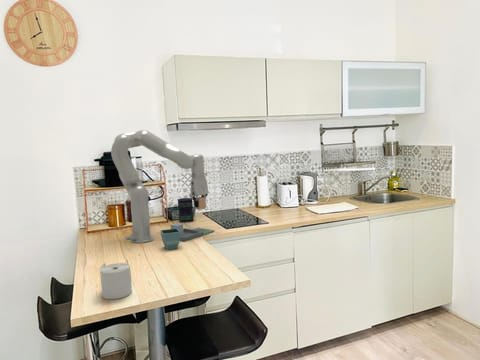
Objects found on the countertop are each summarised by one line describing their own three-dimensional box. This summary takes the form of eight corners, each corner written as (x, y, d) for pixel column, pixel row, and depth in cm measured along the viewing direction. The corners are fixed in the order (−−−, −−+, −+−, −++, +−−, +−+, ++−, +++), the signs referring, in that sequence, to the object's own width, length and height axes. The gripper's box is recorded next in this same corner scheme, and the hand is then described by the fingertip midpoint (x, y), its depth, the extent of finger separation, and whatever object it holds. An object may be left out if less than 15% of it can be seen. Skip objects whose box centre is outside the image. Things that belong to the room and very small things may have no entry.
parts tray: (184, 241, 210) (183, 237, 209) (165, 237, 220) (165, 233, 220) (203, 235, 220) (202, 231, 220) (184, 232, 231) (184, 228, 230)
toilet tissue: (124, 300, 138) (121, 273, 137) (93, 299, 140) (90, 272, 139) (137, 288, 148) (135, 263, 147) (108, 287, 150) (105, 262, 149)
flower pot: (178, 244, 205) (176, 227, 204) (181, 248, 197) (180, 231, 196) (161, 246, 202) (160, 230, 201) (164, 251, 194) (163, 234, 193)
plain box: (176, 237, 217) (176, 225, 217) (171, 235, 221) (170, 224, 220) (183, 235, 221) (183, 224, 220) (178, 233, 224) (177, 223, 224)
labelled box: (199, 209, 225) (199, 198, 224) (194, 208, 228) (193, 197, 227) (206, 208, 228) (205, 197, 227) (200, 207, 232) (199, 196, 231)
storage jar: (190, 222, 254) (189, 200, 252) (176, 222, 256) (175, 200, 254) (195, 219, 264) (194, 197, 262) (182, 219, 266) (180, 197, 264)
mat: (204, 234, 222) (204, 233, 222) (188, 231, 231) (188, 230, 231) (214, 231, 228) (214, 230, 228) (198, 228, 237) (198, 227, 237)
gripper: (191, 177, 217) (193, 209, 219) (212, 174, 229) (214, 204, 232) (182, 177, 222) (184, 208, 224) (204, 173, 234) (206, 203, 237)
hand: (200, 205), depth 228 cm, fingers closed on labelled box, 5 cm apart
